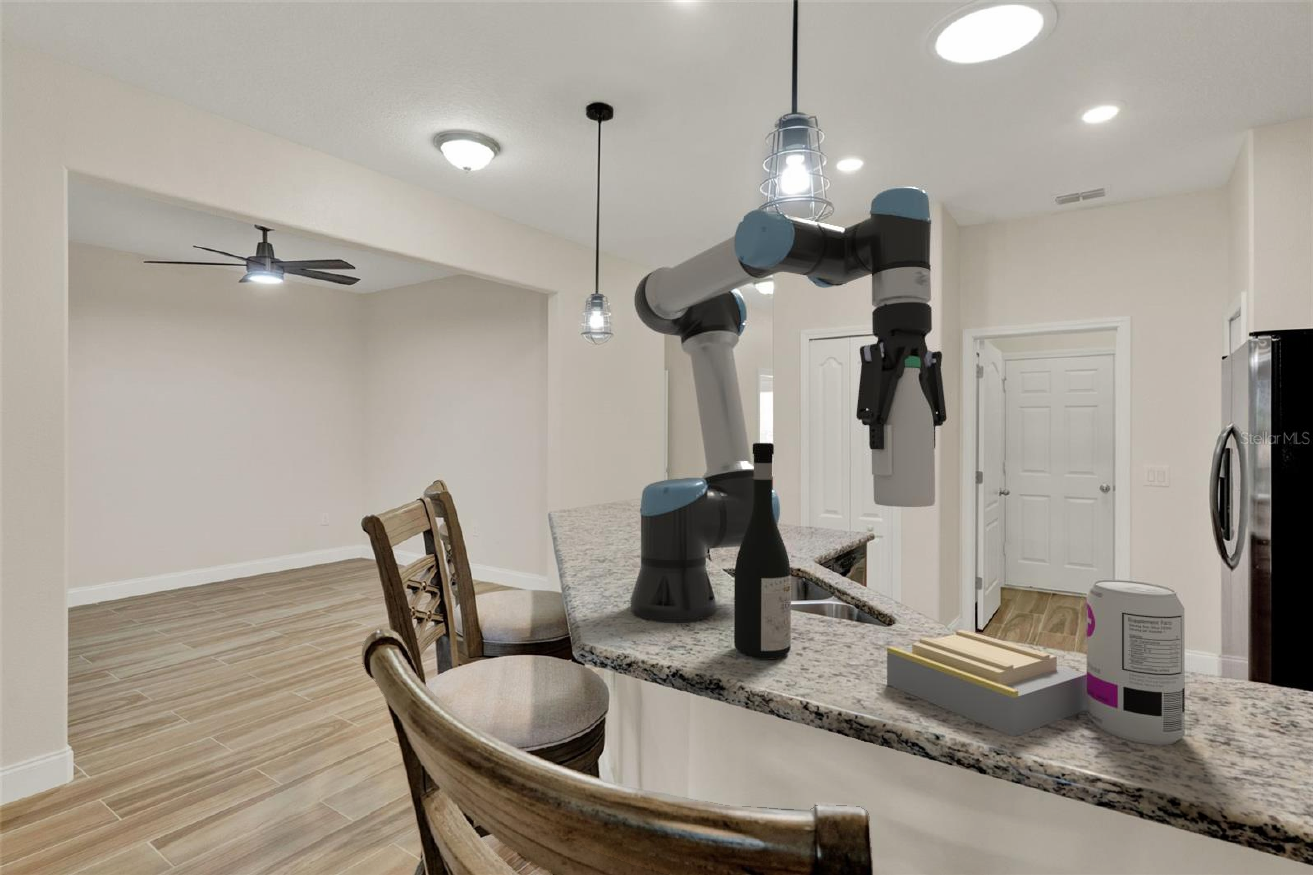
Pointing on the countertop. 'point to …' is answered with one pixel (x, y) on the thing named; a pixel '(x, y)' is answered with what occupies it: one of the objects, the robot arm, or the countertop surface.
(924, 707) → the countertop surface
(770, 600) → the wine bottle
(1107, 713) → the supplement can
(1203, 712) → the countertop surface
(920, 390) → the milk bottle
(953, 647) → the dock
